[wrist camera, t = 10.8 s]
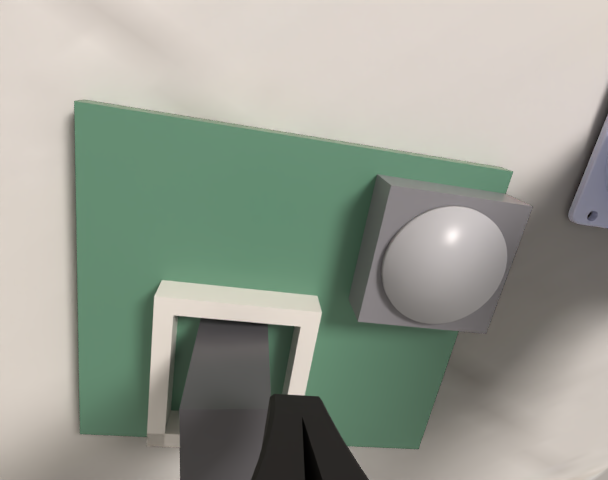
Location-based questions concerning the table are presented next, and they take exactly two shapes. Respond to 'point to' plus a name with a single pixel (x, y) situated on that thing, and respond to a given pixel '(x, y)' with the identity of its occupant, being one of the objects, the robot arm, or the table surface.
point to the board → (278, 267)
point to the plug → (225, 401)
